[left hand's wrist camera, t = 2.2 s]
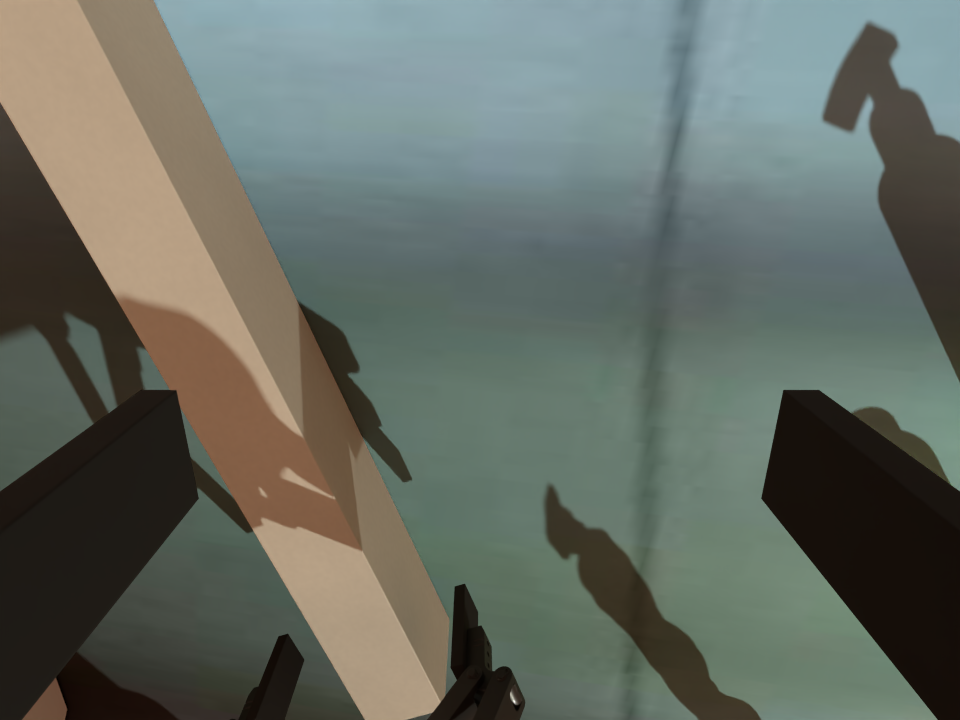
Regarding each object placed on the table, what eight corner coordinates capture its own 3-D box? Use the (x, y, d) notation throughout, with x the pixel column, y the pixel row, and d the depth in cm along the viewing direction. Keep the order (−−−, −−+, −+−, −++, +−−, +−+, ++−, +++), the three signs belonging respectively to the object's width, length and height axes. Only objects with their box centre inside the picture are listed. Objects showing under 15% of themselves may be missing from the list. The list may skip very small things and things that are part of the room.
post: (-309, -666, 24) (-686, -1057, 16) (-199, -737, 24) (-536, -1181, 16) (387, 636, 49) (370, 729, 41) (449, 619, 49) (444, 709, 41)
